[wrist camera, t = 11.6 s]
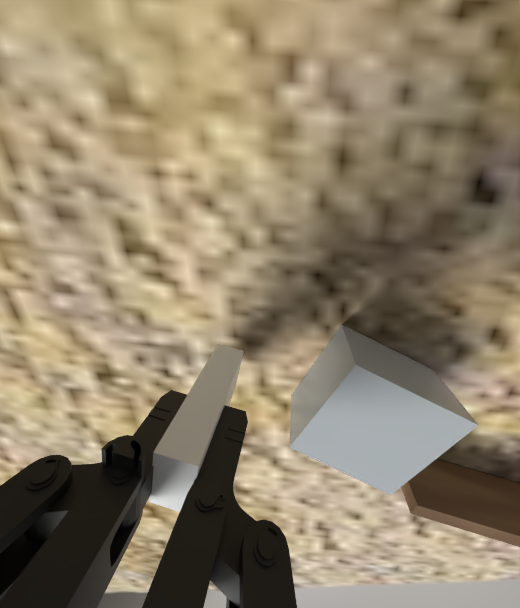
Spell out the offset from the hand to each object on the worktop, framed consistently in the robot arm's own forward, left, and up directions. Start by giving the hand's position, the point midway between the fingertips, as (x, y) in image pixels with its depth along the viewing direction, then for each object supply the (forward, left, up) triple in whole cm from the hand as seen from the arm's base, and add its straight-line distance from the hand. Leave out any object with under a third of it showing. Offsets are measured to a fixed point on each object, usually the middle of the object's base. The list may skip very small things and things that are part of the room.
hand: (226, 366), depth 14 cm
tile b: (0, +8, -2) cm, 8 cm away
